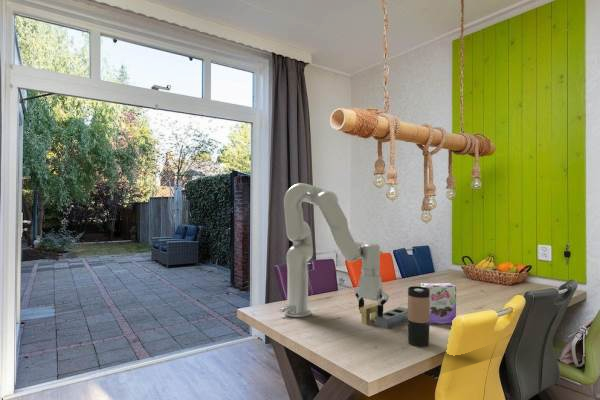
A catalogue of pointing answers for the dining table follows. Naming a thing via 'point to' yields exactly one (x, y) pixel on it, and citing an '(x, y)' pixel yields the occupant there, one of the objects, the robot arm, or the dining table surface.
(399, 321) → the grey cinder block
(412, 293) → the travel mug
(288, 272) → the robot arm
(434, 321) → the candy box
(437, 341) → the dining table surface
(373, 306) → the khaki arch block
